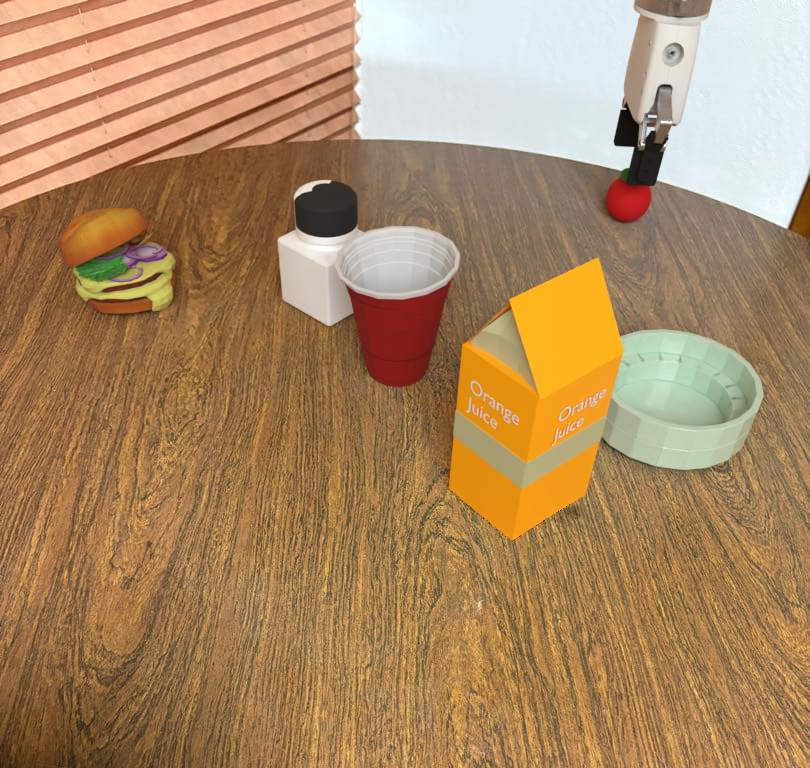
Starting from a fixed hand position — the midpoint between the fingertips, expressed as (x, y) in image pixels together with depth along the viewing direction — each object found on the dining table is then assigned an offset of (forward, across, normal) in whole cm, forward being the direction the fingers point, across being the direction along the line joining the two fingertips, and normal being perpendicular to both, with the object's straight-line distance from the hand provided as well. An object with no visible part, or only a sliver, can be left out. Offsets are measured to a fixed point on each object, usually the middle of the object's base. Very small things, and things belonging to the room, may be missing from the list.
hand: (633, 164), depth 98 cm
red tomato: (+7, 0, 0) cm, 7 cm away
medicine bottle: (+7, -20, +34) cm, 40 cm away
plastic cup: (+7, -31, +26) cm, 41 cm away
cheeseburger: (+7, -20, +55) cm, 59 cm away
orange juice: (+7, -48, +16) cm, 51 cm away
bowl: (+6, -38, +2) cm, 38 cm away
